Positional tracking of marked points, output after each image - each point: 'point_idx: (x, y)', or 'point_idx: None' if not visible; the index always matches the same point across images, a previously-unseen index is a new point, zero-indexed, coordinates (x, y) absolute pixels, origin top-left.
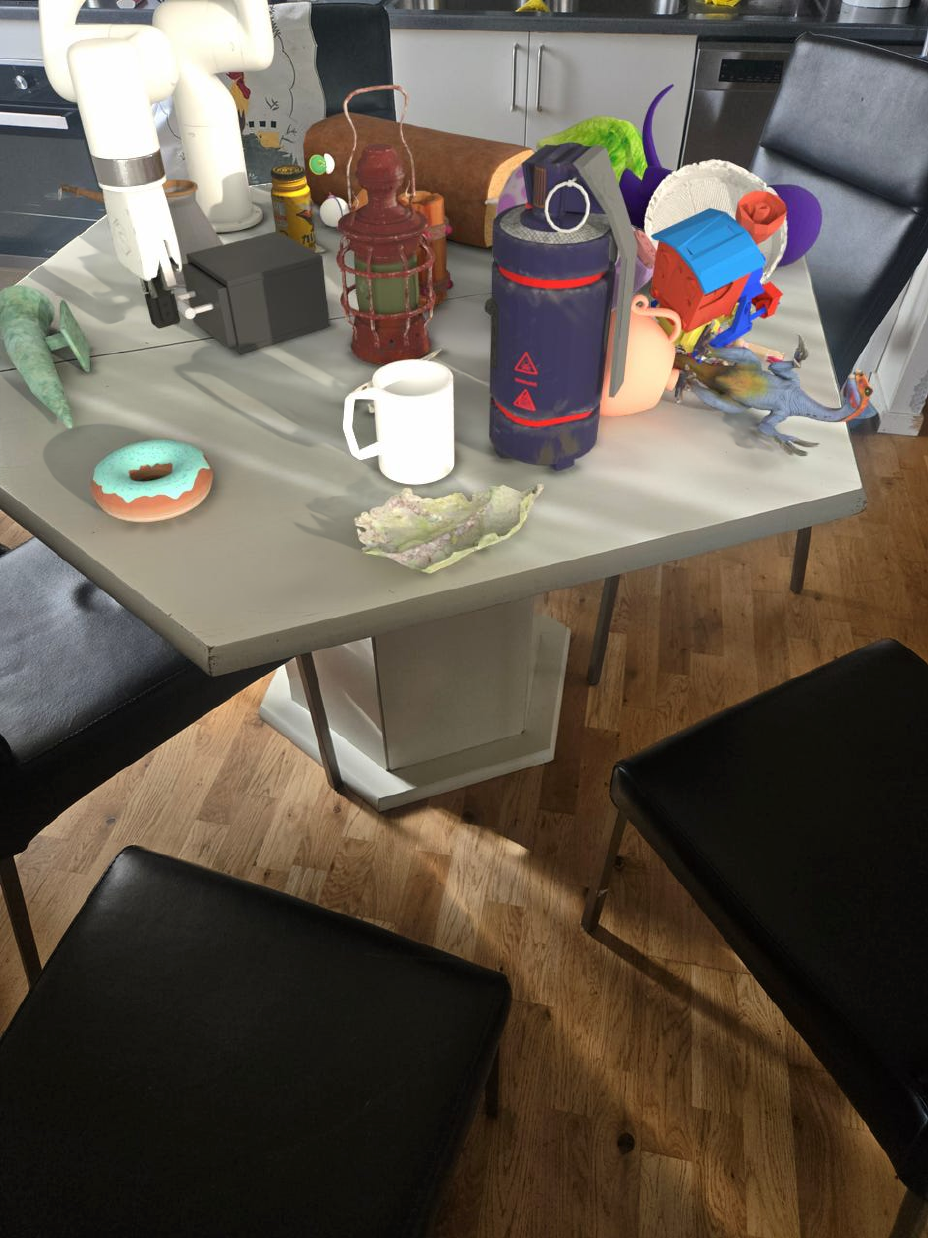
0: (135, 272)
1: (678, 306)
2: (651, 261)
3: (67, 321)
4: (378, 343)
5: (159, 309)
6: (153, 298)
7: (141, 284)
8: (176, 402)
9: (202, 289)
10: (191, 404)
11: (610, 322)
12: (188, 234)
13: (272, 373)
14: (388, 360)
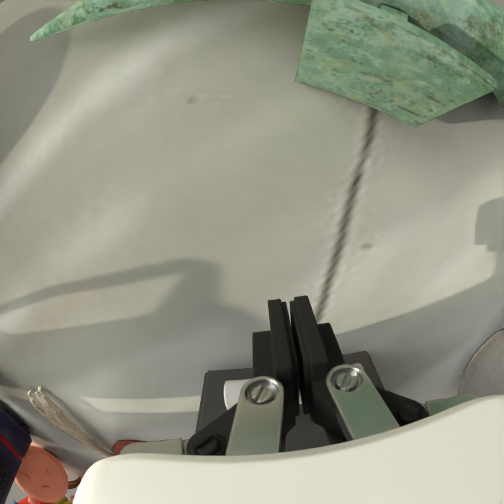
0: (227, 473)
1: (37, 501)
2: None
3: (392, 41)
4: None
5: (264, 353)
6: (250, 379)
7: (367, 380)
8: (67, 224)
9: (292, 448)
10: (56, 245)
11: (30, 490)
12: None
13: (124, 377)
14: (113, 447)
